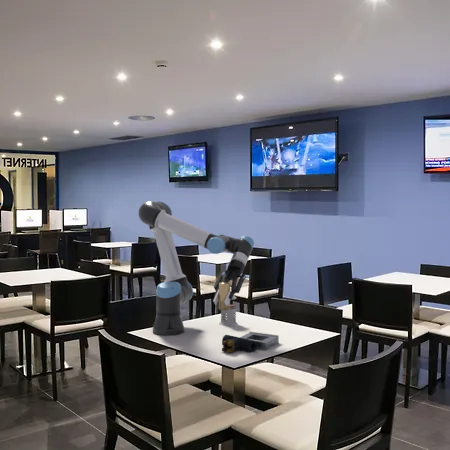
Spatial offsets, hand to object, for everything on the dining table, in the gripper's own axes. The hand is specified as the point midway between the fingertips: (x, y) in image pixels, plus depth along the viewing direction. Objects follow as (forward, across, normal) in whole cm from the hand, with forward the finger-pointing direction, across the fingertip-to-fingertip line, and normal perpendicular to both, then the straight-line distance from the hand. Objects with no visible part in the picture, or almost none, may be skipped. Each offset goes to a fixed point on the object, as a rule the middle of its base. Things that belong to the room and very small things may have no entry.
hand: (220, 303), depth 230 cm
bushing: (0, 0, -5) cm, 5 cm away
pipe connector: (+19, -12, -6) cm, 24 cm away
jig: (+9, -17, -15) cm, 24 cm away
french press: (-12, +14, -36) cm, 40 cm away
